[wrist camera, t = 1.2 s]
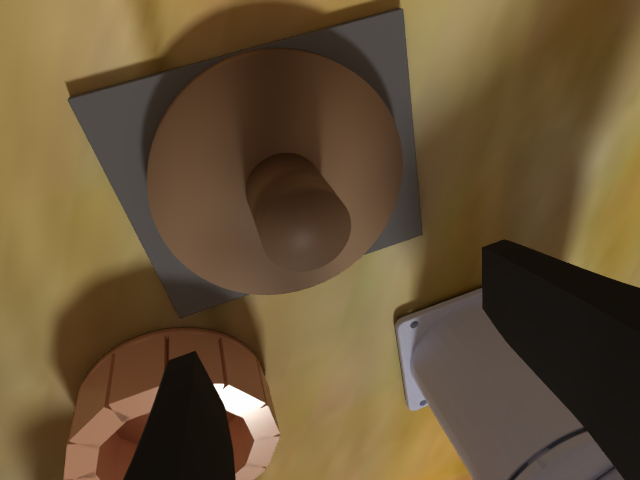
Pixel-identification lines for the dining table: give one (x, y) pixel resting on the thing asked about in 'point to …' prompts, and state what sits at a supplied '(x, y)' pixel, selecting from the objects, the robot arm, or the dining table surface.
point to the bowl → (139, 394)
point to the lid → (273, 171)
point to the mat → (160, 89)
